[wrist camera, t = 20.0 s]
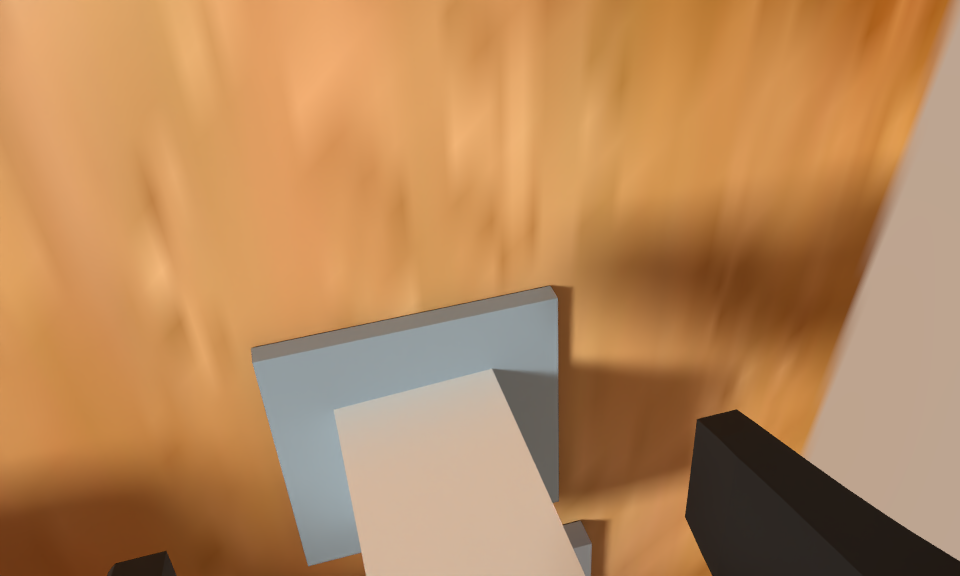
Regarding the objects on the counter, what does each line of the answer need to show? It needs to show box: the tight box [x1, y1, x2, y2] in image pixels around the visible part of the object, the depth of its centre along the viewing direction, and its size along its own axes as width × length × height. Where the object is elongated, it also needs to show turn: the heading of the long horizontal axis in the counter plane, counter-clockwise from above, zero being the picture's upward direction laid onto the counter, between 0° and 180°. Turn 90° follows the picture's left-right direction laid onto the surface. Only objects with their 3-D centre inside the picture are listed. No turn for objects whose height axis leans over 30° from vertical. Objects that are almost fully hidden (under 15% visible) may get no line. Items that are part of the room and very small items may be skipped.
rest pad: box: [251, 286, 559, 566], centre depth 24 cm, size 8×8×1 cm
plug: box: [334, 369, 585, 576], centre depth 21 cm, size 4×4×7 cm
